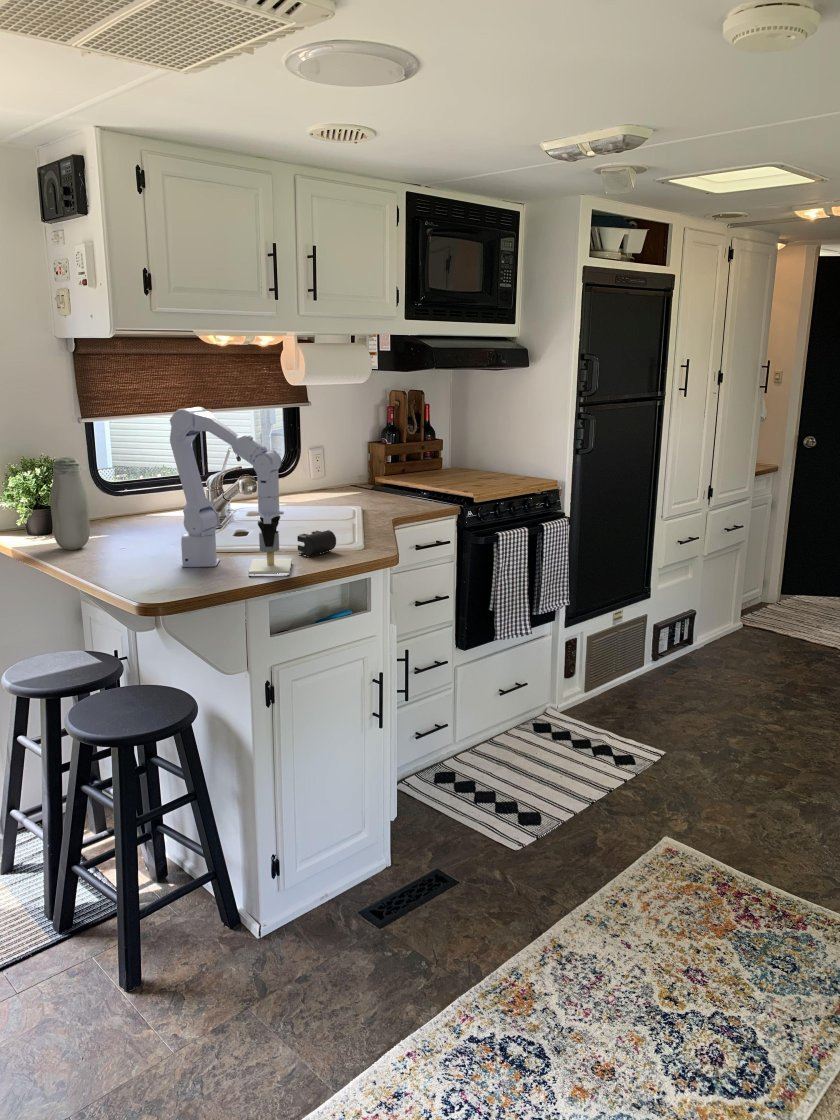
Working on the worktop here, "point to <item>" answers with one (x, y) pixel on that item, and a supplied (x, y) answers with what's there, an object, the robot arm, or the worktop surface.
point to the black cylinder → (316, 542)
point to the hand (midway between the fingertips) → (270, 544)
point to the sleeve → (269, 549)
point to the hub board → (270, 565)
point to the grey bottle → (69, 505)
